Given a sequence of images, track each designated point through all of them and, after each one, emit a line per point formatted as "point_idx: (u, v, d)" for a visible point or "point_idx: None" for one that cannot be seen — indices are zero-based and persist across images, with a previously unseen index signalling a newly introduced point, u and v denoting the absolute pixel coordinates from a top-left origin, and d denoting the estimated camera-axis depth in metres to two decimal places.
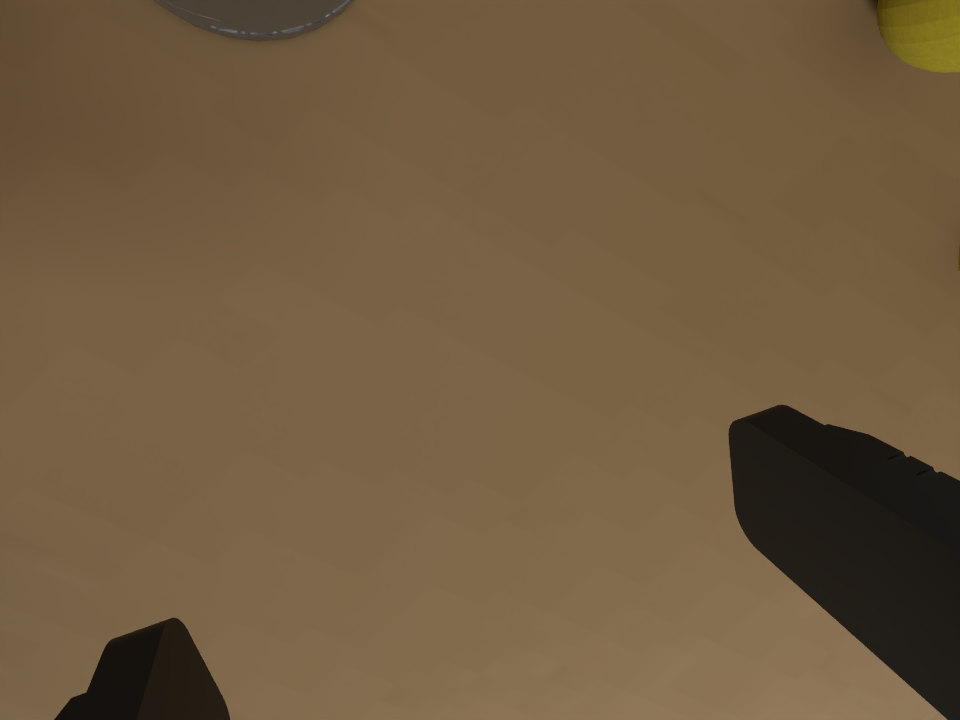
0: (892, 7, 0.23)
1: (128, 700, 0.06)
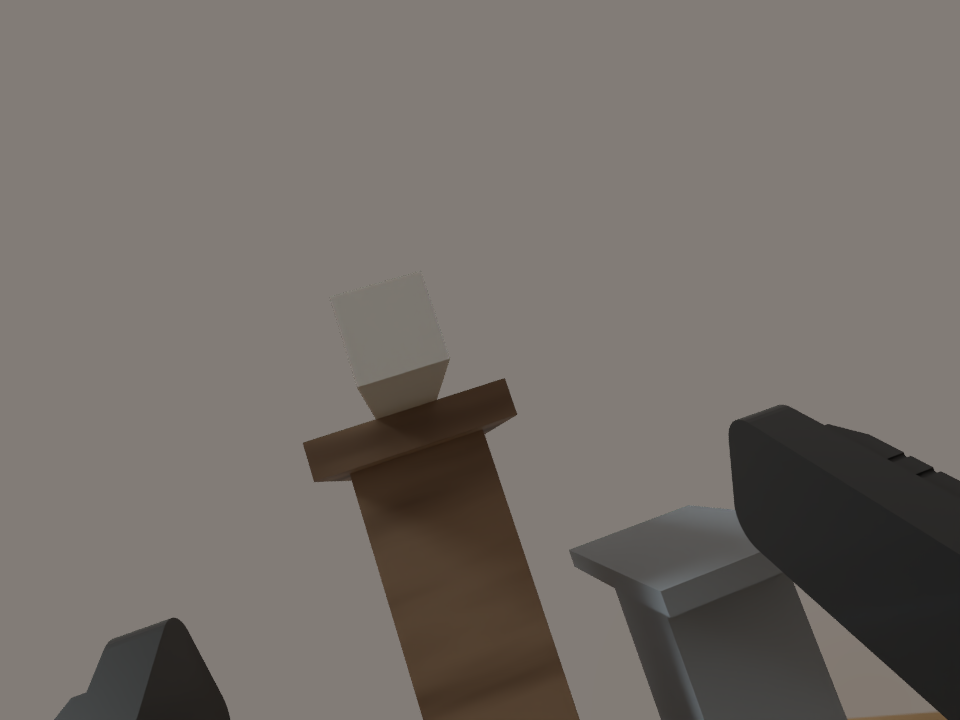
0: None
1: (128, 700, 0.06)
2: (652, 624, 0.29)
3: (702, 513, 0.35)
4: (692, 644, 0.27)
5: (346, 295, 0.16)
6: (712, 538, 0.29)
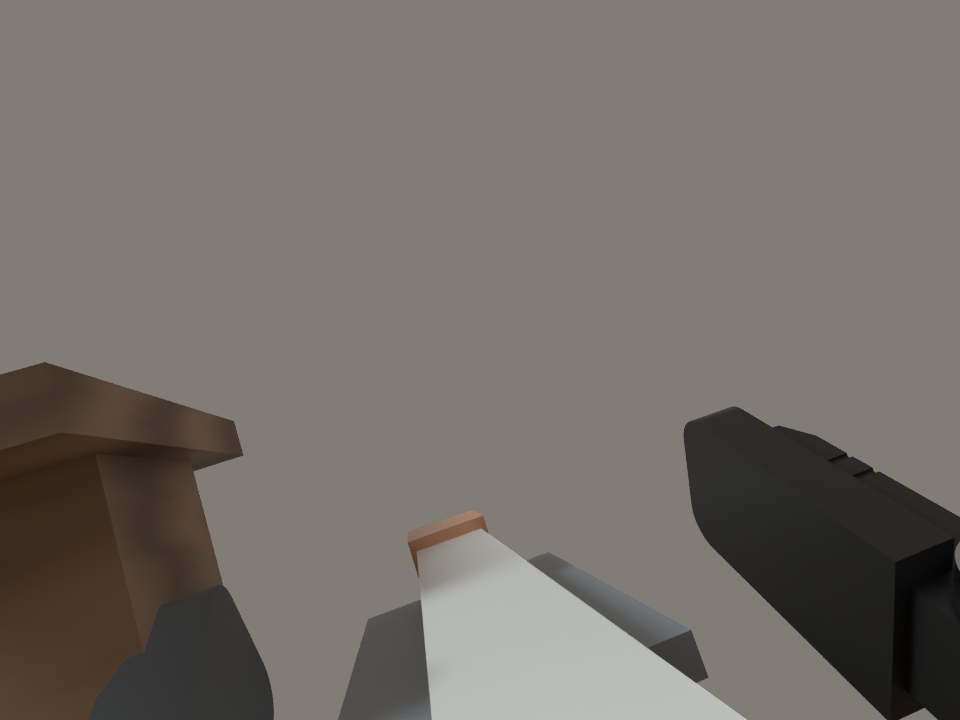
0: None
1: (186, 655, 0.07)
2: None
3: (547, 571, 0.23)
4: None
5: None
6: None
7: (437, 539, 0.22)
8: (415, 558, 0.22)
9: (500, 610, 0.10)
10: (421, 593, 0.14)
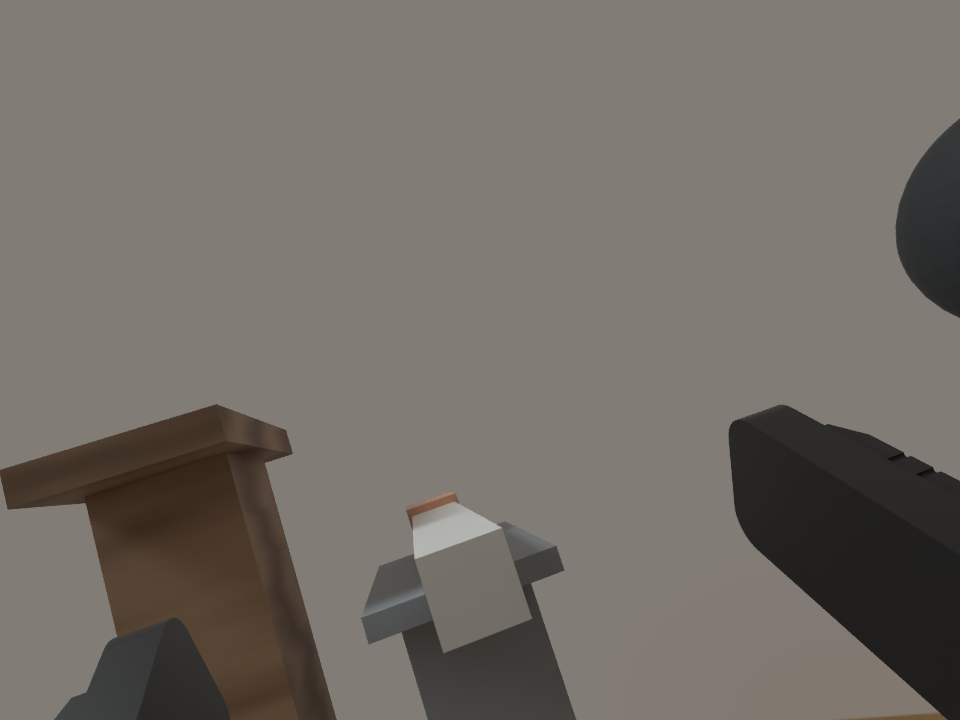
0: None
1: (129, 700, 0.06)
2: None
3: None
4: (428, 667, 0.27)
5: (431, 557, 0.16)
6: None
7: (425, 508, 0.34)
8: (411, 520, 0.34)
9: (448, 525, 0.22)
10: (413, 528, 0.26)
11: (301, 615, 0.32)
